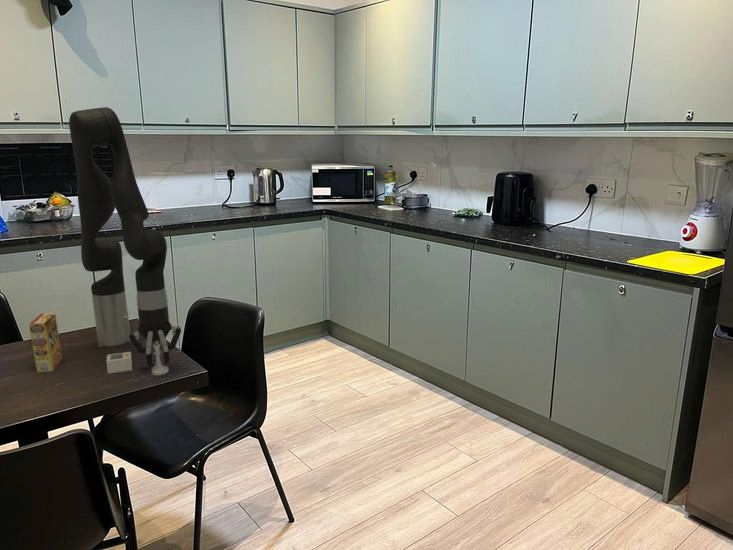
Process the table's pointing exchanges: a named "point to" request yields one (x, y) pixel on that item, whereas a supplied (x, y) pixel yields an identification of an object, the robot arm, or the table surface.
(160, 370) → the chess piece
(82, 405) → the table surface
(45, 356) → the candy box
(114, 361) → the digital timer
